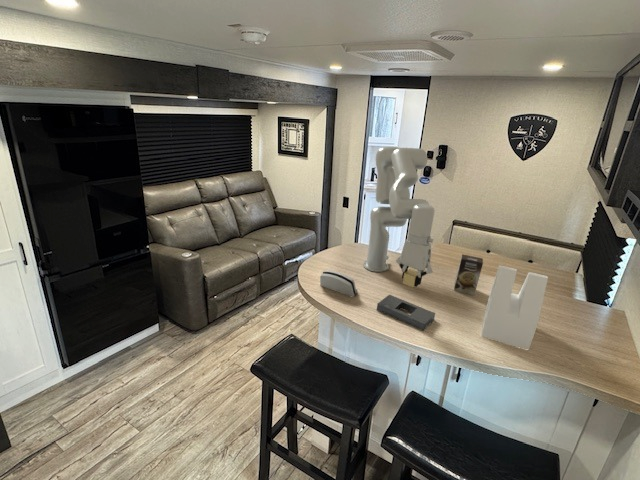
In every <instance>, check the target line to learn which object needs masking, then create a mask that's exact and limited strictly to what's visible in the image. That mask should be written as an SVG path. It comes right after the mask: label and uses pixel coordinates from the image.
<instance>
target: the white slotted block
mask: <svg viewBox="0 0 640 480" xmlns="http://www.w3.org/2000/svg"><path fill="white" fill-rule="evenodd" d="M516 276H517V268H513V267H509V266H504V265H500V264H499V265H498V267H497V271H496V274H495V277H494V279H493V283H492V286H491V289H490V291H489V292H490V293H489V296H488V299H487V303H486V307H485V310H484V316H483V321H482V330H481V334H480V337H481V338H485V339H488V338H489V339H488V340H491V339H493V340H492V341H494V340H496V341H495V342H497V341H500V342H499V343H501V342H503V343H502V344H504V343H506V344H505V345H507V344H510V345H513V346H517V347H520V348H524V349H528V350H530V348H531V345H532V343H533V339H534V336H535V333H536V330H537V327H538V325H539V324H538V323H539V321H540V315H541V311H542V307H543V302H544V297H545V293H546V289H547V284H548V280H549V277H548V276H547V275H545V274H544V275H543V274H539V273H535V272H531V271H529V272H528V273H527V275H526V277H525V279H524V281H523V284H522V286H521V288H520V290H519V293H514V292H513V289H514V285H515V280H516ZM510 345H509V346H510ZM513 346H512V347H513ZM517 347H516V348H517ZM520 348H519V349H520Z"/></svg>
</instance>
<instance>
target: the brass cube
mask: <svg viewBox="0 0 640 480" xmlns="http://www.w3.org/2000/svg"><path fill="white" fill-rule="evenodd" d="M417 276H418V272H417V270H414V269H411V268H408V270H407V271H406V272H405V273H404V278H403V282H402V284H403V285H406V286H408V287H411V288H415V282H416V277H417Z"/></svg>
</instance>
